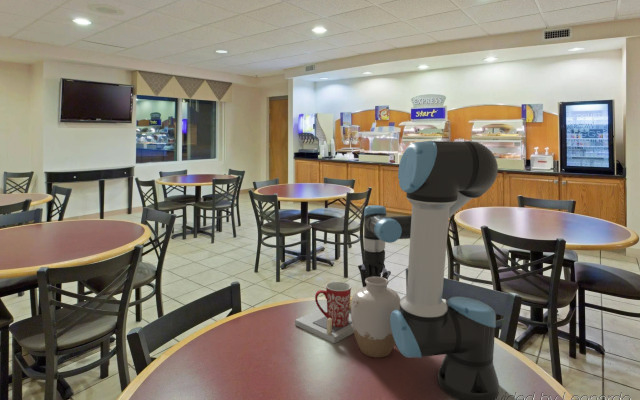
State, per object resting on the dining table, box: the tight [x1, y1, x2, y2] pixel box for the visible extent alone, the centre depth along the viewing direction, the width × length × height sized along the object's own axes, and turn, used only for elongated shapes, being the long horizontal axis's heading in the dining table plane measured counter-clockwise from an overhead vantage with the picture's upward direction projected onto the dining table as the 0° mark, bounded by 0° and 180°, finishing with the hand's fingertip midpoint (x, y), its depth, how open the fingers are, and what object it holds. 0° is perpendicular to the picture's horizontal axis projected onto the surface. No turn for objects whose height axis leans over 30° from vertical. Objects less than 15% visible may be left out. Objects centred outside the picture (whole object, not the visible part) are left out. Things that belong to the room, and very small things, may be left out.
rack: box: [294, 305, 354, 344], centre depth 138 cm, size 19×23×7 cm
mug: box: [314, 281, 352, 327], centre depth 133 cm, size 13×9×14 cm
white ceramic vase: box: [351, 276, 402, 359], centre depth 119 cm, size 16×16×23 cm
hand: (373, 312), depth 138 cm, fingers closed
